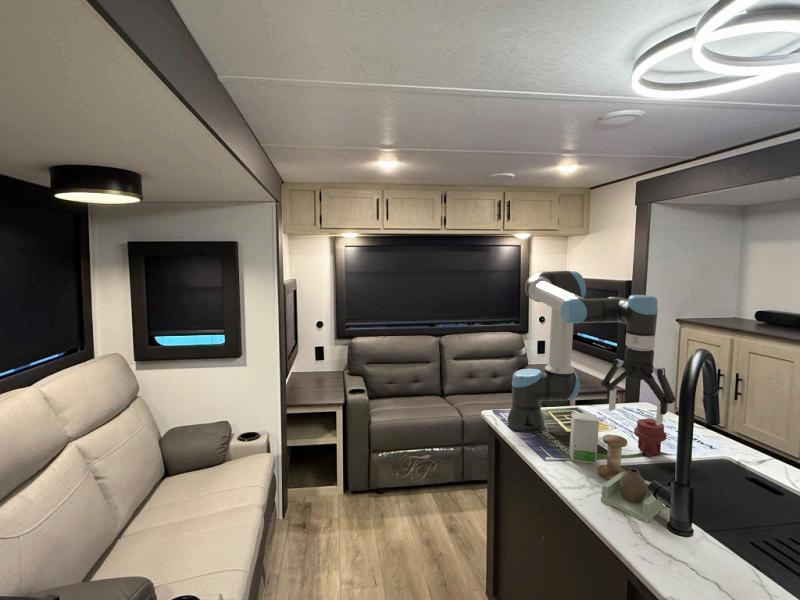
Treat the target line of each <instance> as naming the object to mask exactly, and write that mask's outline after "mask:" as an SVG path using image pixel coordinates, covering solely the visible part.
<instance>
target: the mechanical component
mask: <svg viewBox="0 0 800 600" xmlns="http://www.w3.org/2000/svg"><path fill="white" fill-rule="evenodd" d="M633 434H634V435H635V436H636V437H637V438H638V441H637V443H638V444H637V447H638V449H639V450H640V452H642V453H644V455H645V456H646V457H648V458H651V457H652V456H657V454H658V455H659V454H660V453H661V448H662V447H661V446H662V442H664V441H666V440H667V432H665V424H663V423H662V424H660V425H659V426H658V425H656V419H654V418H642V419H638V420H637V422H636V426H635V427H634V429H633Z"/></svg>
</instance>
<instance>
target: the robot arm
mask: <svg viewBox="0 0 800 600" xmlns="http://www.w3.org/2000/svg"><path fill="white" fill-rule="evenodd" d="M524 291H525V293H526V296H527V297H528V298H529V299H530V300H532V301H534V302H537V303H543V304H545V305H547V306H548V307H550V308H551V313H550V315H551V316H550V317H551V318H550V334H549V335H550V337H549V353H548V354H549V355H548V363H547V364H546V365H545V366H544V372H542V371H541V370H540V369H537V368H522V369H519V370H516V371H515V372H514V373H513V374H512V381H511V407H510V410H509V413H508V415H507V419H506V420H507V422H506V424H507V426H508V427H509V428H510V429H512V430H514V431H517V432H520V433H521V432H522V433H531V434H532V433H539V432H542V431H544V429H545V422H546V421H545V419H544V415H543V412H542V408H541V407H542V402H558V401H560V402H564V401H572V400H574V399H575V398H576V397H577V395H578V394H579V392H580V386H581V385H580V384H581V382H580V377H579V375H578V374H577V373H576V371H575V369H574V368H573V366H571V365H572V350H573V337H574V335H573V334H574V324H577V325H578V324H590V323H591V324H592V323H594V324H595V323H622V324H625V325H626V329H625V331H626V334H625V346H626V347H625V348H624V360H622V359H620V358H616V359H613V360H612V365H611V368H610V369H609V370H608V372H607V373H606V375H605V377H604V378H603V380H602V381H601V383H600V384H601V386H602V387H605V388H606V399H607V400H608V411H610V412H612V411H615V409H616V407H617V406H616V404H617V390H618V389H617V388H615V387H616V386H618V385H619V384H620V383H621V382H623V381H624V380H625V379H626V378H627V377H630V379H637V380H639V381H642V380H643V381H644V382H645V383H646V384H647V385H648V387H649V388H650V389H651V391H652V393H653V394H654V395H655V397H656V398H657V400H658V401H659V402H657V403H656V414H655V415H656V416H655V420H656V425H658V426H659V425H660V424H663V422H664V416H665V415H666V414H667V413H668V406H669V404H670V405H672V404H675V402H676V401H677V399H676V397H675V395H674V392H673V390H672V387H671V386H670V383H669V380H668V378H667V375H666V368H665V367H660V368H658V367H655V366H654V361H655V360H654V357H655V356H654V355H655V351H654V349H655V347H656V346H655V344H656V331H657V319H658V312H659V310H658V298H657V297H656V296H654V295H648V294H631V295H629V297H628V298H625V297H621V296H608V297H606V298H605V297H604V298H585V296H586V294H587V293H586V292H587V287H586V281H585V279H584V278H583V275H582V274H580V273H579V272H578V271H575V270H574V271H573V270H555V271H554V270H553V271H545V270H543V271H538V272H535V273H533V274H531V275H530V276H529V277H528V278H527V280H526V282H525V284H524ZM620 367H623V369H624V371H623V372H621V374H620V375H618V376H617V378H615V379H614V380H612V379H613V378H614V376H615V375H616V373H617V372H618V370H619V369H620ZM653 373H654V374H655V376H656V377H657V380H658V382H659V384H658V383H657V382H656V380H655V377H654V376H653V375H652V374H653ZM659 385H660V386H659Z"/></svg>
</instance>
